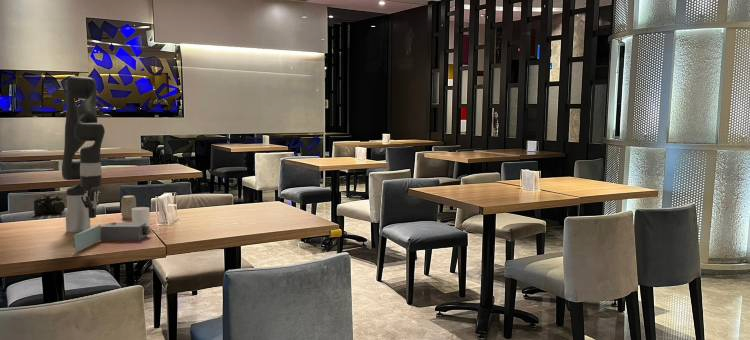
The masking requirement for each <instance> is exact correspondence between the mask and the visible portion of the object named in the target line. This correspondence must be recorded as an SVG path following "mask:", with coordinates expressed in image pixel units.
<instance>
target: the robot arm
mask: <svg viewBox="0 0 750 340" xmlns="http://www.w3.org/2000/svg"><path fill="white" fill-rule="evenodd" d="M97 90H98V89H97V82H96V80H95V79H94V78H92V77H89V76H86V77H85V76H77V75H76V76H75V75H74V76H73V75H70V76H68V77H67V81H66V114H65V123H64V124H65V125H64V148H63V149H64V150H63V157H62V163H61V175H62V178H63V180H65V181H66V180H67V181H77V180H78V181H79V180H80V181H79V182H78V183H77V184H75V185H73V186H69V187H68V188H67V189H66V206H67V207H66V208H67V210H65V213H64V214H65V232H66V233H73V234H74V233H75V234H78V233H80V232H82V231H85V230H87V229H90V228H92V227H91V219H95V218H97V207H98V206H99V205H100V201H101V198H102V192H101V191H100V190H99V189H100V188H99V187H101V186H102V185H103V182H102V181H103V175H102V174H103V173H102V163H101V149H102V143H103V140H104V137H105V134H106V133H105V131H106V129H105V126H104V125H103V123H101V122H98V114H97V98H98V97H97V94H98V91H97ZM76 99H82V100H83V101H82V102H81V103H79V105H78V104H77V102H76ZM86 142H94V143H93V144H92V145H90V146H84V144H85V143H86ZM83 146H84V147H83ZM78 151H79V157H80V158H79V159H74V156H75V155H76V153H77V152H78Z"/></svg>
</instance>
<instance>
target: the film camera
mask: <svg viewBox="0 0 750 340" xmlns="http://www.w3.org/2000/svg"><path fill="white" fill-rule="evenodd" d="M65 209H66V206H65V203H64V202H63V197H60V196H58V195H54V194H45V195H44V196H43V197H39V198H36V199H35V200H34V201H33V211H34V216H40V215H45V214H50V213H51V214H61V213H63V212H64V211H65Z"/></svg>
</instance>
